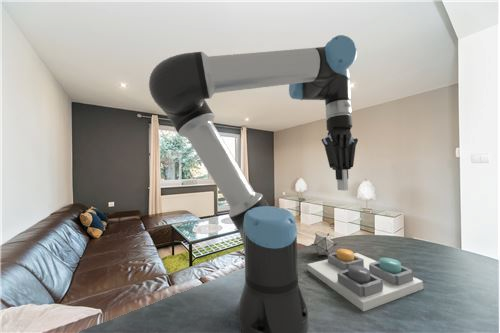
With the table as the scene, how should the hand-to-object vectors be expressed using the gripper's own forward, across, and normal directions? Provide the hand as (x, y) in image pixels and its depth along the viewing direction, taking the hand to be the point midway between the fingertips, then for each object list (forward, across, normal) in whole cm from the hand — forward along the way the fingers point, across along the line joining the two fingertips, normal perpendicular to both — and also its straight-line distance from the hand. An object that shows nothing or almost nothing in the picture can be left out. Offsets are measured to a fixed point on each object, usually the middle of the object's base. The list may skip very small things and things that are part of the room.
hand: (342, 190), depth 59 cm
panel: (+26, +1, -3) cm, 26 cm away
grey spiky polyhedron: (+26, +3, +14) cm, 30 cm away
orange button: (+24, +1, +2) cm, 24 cm away
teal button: (+24, +7, -8) cm, 26 cm away
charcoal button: (+24, -5, -8) cm, 25 cm away
